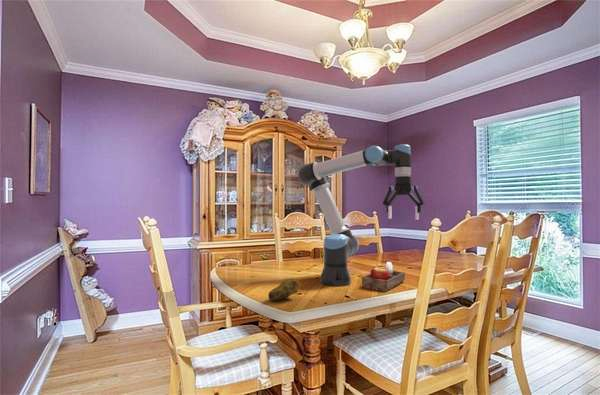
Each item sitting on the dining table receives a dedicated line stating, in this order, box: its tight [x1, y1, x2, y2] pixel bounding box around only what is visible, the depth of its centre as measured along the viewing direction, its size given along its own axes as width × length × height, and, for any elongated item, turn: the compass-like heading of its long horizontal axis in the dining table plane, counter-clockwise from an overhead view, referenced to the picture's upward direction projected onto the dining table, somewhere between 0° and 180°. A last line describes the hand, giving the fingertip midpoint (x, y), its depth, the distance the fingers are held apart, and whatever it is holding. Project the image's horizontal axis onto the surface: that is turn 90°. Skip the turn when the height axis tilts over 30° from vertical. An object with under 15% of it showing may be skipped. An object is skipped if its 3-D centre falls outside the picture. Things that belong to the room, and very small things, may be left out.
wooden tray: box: [361, 270, 406, 292], centre depth 159 cm, size 12×23×5 cm, turn 143°
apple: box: [370, 264, 389, 280], centre depth 154 cm, size 8×8×10 cm
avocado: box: [268, 278, 299, 302], centre depth 133 cm, size 8×13×8 cm, turn 103°
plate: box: [384, 261, 394, 276], centre depth 163 cm, size 1×9×9 cm, turn 143°
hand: (403, 219), depth 160 cm, fingers open, 13 cm apart
